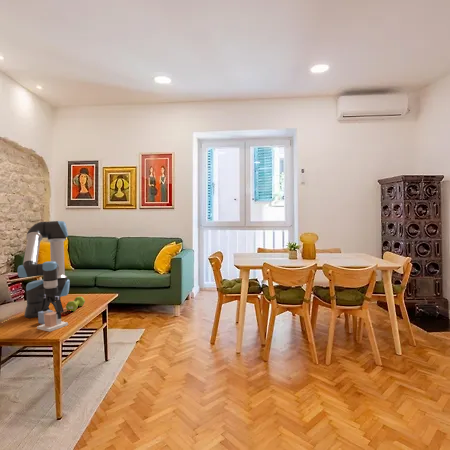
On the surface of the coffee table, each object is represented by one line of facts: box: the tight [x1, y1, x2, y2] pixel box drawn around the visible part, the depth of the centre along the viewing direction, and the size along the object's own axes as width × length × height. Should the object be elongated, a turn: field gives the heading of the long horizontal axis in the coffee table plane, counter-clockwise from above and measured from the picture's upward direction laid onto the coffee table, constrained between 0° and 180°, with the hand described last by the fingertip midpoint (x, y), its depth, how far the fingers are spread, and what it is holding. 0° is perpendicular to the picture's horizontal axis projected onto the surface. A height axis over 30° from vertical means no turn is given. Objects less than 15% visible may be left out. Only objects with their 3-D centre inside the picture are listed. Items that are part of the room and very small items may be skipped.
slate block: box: [37, 309, 54, 325], centre depth 202 cm, size 6×6×7 cm
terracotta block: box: [44, 310, 56, 327], centre depth 192 cm, size 6×6×7 cm
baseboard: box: [36, 320, 69, 333], centre depth 192 cm, size 12×12×2 cm
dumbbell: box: [65, 296, 86, 313], centre depth 230 cm, size 16×8×7 cm, turn 1°
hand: (52, 322), depth 192 cm, fingers open, 11 cm apart
